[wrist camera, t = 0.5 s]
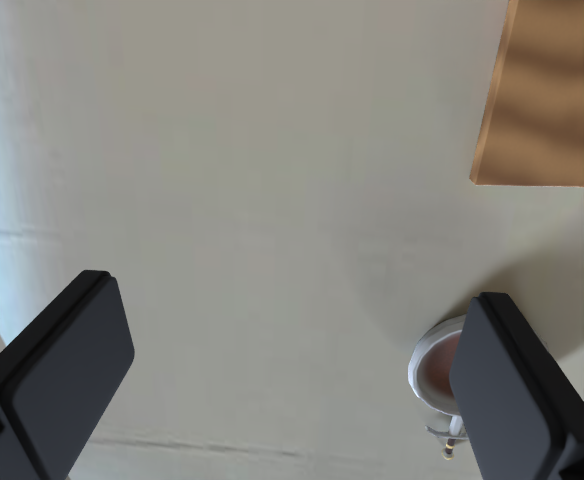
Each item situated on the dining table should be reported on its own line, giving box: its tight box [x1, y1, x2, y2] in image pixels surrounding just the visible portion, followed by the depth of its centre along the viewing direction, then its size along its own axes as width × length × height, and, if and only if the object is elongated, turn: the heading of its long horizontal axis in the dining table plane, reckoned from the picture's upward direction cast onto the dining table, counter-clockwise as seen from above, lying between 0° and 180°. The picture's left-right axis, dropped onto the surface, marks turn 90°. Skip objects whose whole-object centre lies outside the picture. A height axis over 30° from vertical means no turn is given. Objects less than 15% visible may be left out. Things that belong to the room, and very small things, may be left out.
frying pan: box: [408, 314, 549, 460], centre depth 51 cm, size 17×3×28 cm
